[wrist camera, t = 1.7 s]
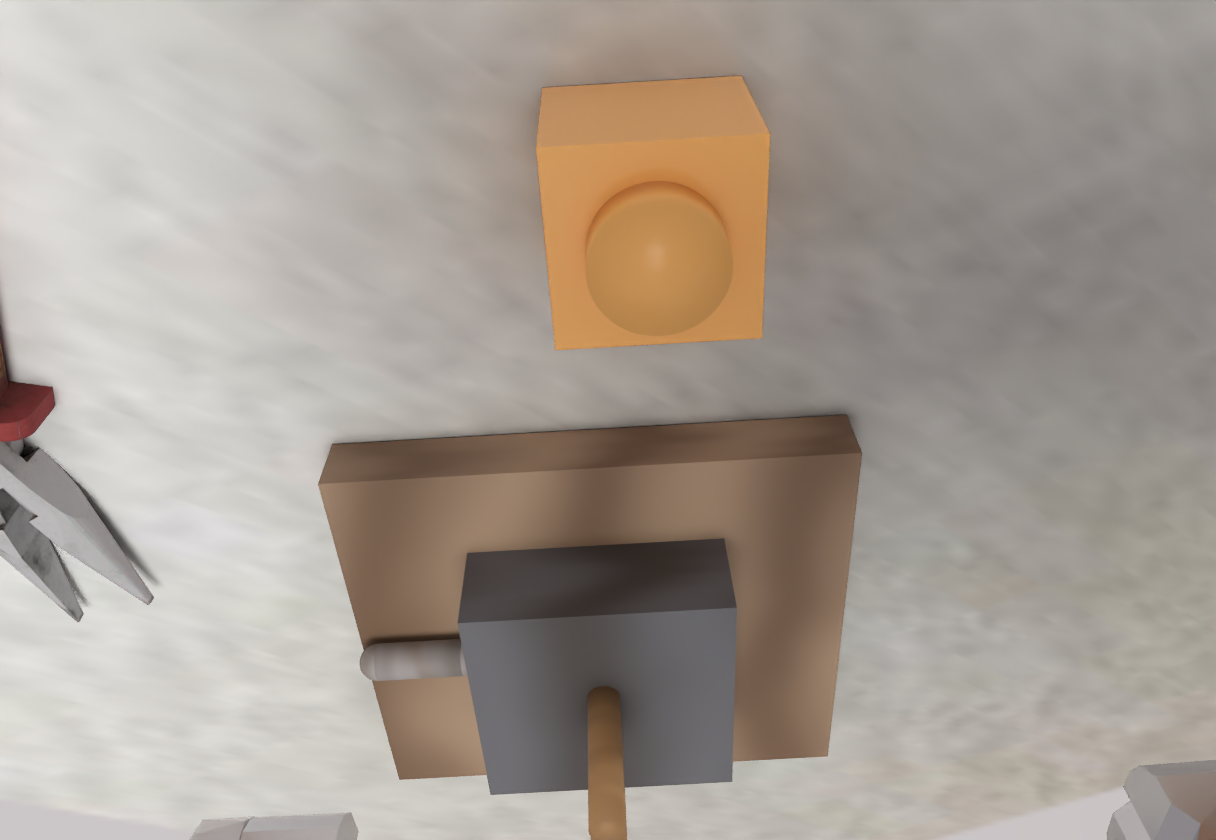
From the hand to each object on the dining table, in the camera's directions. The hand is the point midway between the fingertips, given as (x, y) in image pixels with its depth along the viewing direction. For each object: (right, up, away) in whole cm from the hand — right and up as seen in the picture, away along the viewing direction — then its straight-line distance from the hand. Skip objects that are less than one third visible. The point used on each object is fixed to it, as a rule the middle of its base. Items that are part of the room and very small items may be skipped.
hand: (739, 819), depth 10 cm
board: (-2, -2, +24) cm, 24 cm away
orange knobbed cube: (0, +11, +16) cm, 19 cm away
